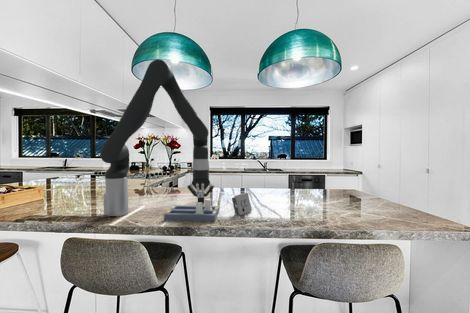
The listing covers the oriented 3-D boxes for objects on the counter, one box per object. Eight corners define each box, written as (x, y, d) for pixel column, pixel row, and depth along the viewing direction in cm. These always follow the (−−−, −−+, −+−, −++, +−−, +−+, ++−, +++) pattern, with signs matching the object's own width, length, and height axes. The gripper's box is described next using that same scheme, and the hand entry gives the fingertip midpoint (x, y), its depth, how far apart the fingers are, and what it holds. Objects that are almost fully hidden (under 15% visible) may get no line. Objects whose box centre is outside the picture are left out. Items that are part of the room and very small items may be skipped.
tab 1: (194, 216, 100) (194, 203, 99) (196, 213, 103) (196, 201, 103) (202, 216, 99) (202, 204, 99) (203, 214, 103) (203, 202, 102)
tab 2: (203, 212, 106) (203, 200, 105) (205, 209, 109) (205, 198, 109) (211, 212, 106) (211, 200, 105) (212, 210, 109) (212, 198, 109)
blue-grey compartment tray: (164, 220, 98) (164, 213, 98) (174, 210, 112) (174, 205, 112) (214, 221, 97) (214, 214, 97) (219, 211, 111) (219, 205, 111)
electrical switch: (240, 216, 104) (239, 195, 104) (231, 215, 107) (230, 195, 107) (252, 211, 111) (250, 192, 111) (243, 210, 115) (242, 192, 115)
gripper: (184, 169, 103) (185, 207, 104) (213, 169, 102) (213, 207, 103) (188, 167, 111) (189, 202, 112) (216, 167, 110) (216, 203, 111)
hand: (201, 205), depth 107 cm, fingers closed
